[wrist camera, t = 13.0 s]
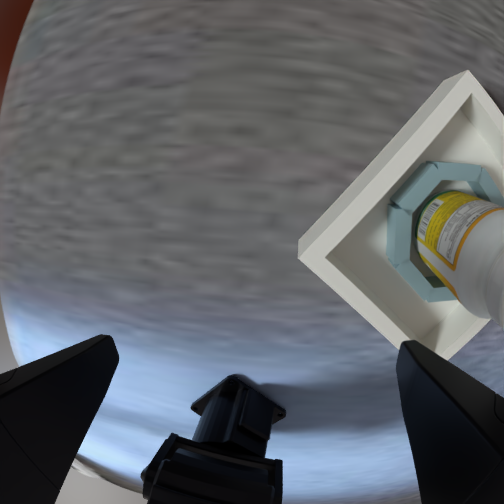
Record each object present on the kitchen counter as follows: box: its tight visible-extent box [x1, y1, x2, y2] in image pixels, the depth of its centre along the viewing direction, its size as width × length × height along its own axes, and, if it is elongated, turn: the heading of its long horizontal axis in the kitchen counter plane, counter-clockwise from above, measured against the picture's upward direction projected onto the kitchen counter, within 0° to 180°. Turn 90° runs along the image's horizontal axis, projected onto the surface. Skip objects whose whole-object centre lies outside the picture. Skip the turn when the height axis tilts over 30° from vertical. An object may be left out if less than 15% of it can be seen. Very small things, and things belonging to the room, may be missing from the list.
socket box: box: [298, 70, 504, 360], centre depth 16 cm, size 15×13×4 cm
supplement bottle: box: [413, 190, 504, 330], centre depth 12 cm, size 5×5×10 cm
